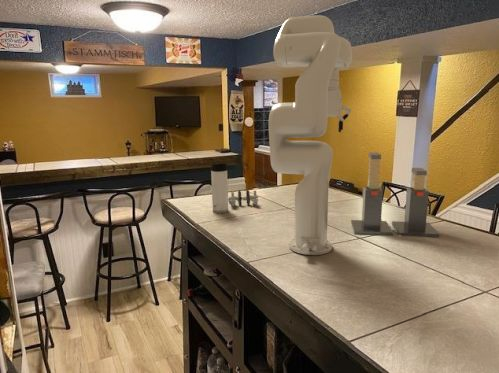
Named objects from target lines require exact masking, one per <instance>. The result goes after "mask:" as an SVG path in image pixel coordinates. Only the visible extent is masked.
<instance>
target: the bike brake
mask: <svg viewBox="0 0 499 373" xmlns="http://www.w3.org/2000/svg"><path fill="white" fill-rule="evenodd" d="M245 193H246V196H243V197H242V192H241V190H240V189H238V192H237V196H235V192H234V191H231V194H230V195H231V196H228V202H229V203H230V205H231V206H232V207H234V206H235V205H236V201H237V203H238V205H239V207H241V206H242V200H246V204H247V206H248V207H249V206H250V205H251V202H253V205H254V206H255V205H258V202H259V199H258V198H259V195H257V190H253V195H252V194H251V193H250V190H249V189H246V191H245ZM250 194H251V195H250Z"/></svg>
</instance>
